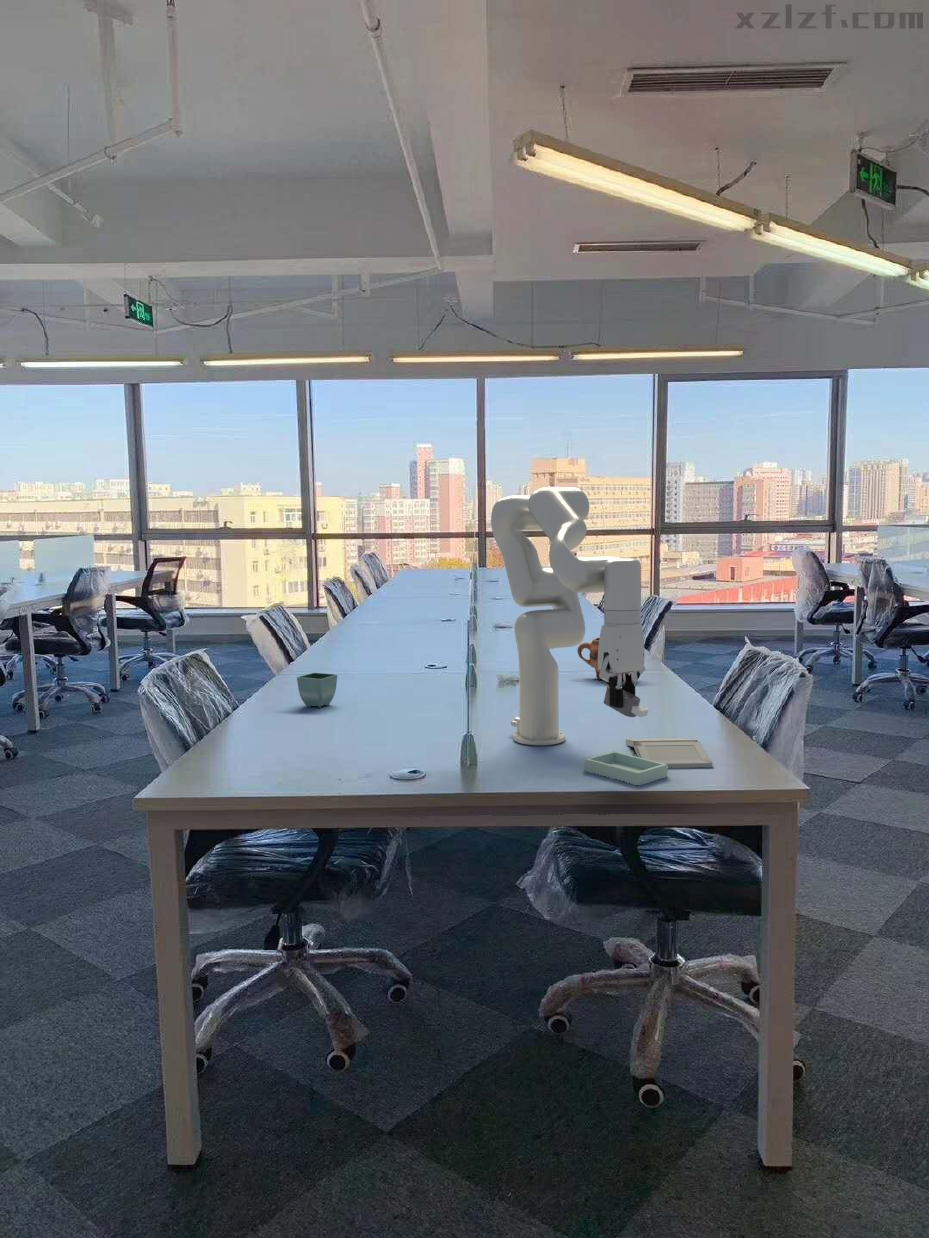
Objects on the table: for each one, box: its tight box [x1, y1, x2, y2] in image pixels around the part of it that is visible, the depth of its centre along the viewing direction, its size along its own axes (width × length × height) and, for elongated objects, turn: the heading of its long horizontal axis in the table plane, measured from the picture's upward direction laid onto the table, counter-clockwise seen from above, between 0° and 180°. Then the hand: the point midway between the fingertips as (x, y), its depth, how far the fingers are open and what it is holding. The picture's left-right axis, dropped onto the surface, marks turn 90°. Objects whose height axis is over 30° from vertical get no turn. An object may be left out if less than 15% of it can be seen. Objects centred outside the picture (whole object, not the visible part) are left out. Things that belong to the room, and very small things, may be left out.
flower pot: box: [296, 672, 338, 708], centre depth 259 cm, size 9×9×9 cm
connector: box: [603, 686, 649, 718], centre depth 184 cm, size 10×3×4 cm, turn 40°
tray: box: [584, 751, 668, 786], centre depth 185 cm, size 14×9×3 cm, turn 40°
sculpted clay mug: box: [576, 637, 624, 681], centre depth 295 cm, size 20×12×14 cm, turn 68°
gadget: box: [625, 737, 714, 769], centre depth 201 cm, size 23×15×4 cm, turn 0°
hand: (622, 704), depth 185 cm, fingers closed on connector, 3 cm apart
